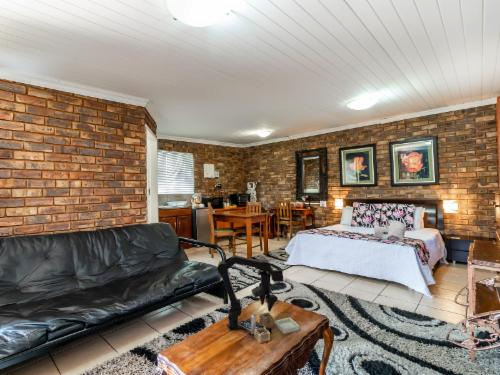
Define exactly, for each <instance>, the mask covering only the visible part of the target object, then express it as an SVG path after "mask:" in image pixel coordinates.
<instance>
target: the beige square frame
mask: <svg viewBox="0 0 500 375" xmlns="http://www.w3.org/2000/svg"><path fill="white" fill-rule="evenodd" d="M262 332H264V333H263V334H260V333H262ZM253 335H254V338H255V340H256V341H257V342H258V344H261V343H262V344H263V343H264V342H269V341H271V332H270V331H269V330H268V328H267V329H266V328H265V327H263V328H262V327H259V328H256V329H255V330H254V334H253Z"/></svg>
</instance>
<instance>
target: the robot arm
mask: <svg viewBox="0 0 500 375" xmlns="http://www.w3.org/2000/svg"><path fill="white" fill-rule="evenodd" d="M235 264H238V265H243V266H247V267H251V268H256V269H257V270H258V271H257V276H260V282H259V283H258V284H259V285H257V286H255V287H254V288H251V291H250V292H251V294H252V296H253V297H254V298H259V300H260V304H261V306H263V305H265V304H264V303H267V304H266V305H267V312H268V313H270V312H272V309H273V307H274V305H275V303H277V302H278V301H279V299H278V296H277V295H275V294H274V293H273V291H272V289H271V287H272V286H273V285H272V283H271V281H273V283H282V282H284V274H283V270H282V269H273V267H272V265H271V263H270V260H268V259H264V258H262V259H261V258H260V259H259V258H258V259H254V258H249V257H244V256H240V255H237V254H233V255H232V256H231V257H228V258H226V259H224V260H220V261H219V262H218V264H217V272H218V274H219V275H220V277H221V278H222V280H223V283H224V286H225V289H226V292H227V295H228V298H229V301H230V303H229V304H230V308H229V309H228V313H227V314H228V316H227V317H228V324H226V327H227V328H228V330H229V331H233V330H234V331H235V330H238V329H241V326H240V325H239V316H241V314H242V310H243V304H242V302H241V301H242V300H241V298H239V299H238V298H237V295H236V293H235V290H234V286H233V283H232V281H231V277H230V274H229V273H230V272H229V269H231V267H233V266H234V265H235ZM239 326H240V327H239Z"/></svg>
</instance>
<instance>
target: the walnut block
mask: <svg viewBox="0 0 500 375" xmlns="http://www.w3.org/2000/svg"><path fill="white" fill-rule="evenodd" d="M258 316H259V317H258V318H259V319H258V320H259V321H258V322H259V323H260V324H262V325H263V326H266V327H269V328H268V329H270V328H273V327H274V317H273V315H272V314H271V313H270V312H263V313H260V314H258ZM259 323H258V324H259ZM260 324H259V325H260Z"/></svg>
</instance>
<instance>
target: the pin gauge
mask: <svg viewBox="0 0 500 375" xmlns="http://www.w3.org/2000/svg"><path fill="white" fill-rule="evenodd" d="M255 329H257V315H256V314H254V313H252V314H251V315H250V334H251V335H254V330H255Z"/></svg>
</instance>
